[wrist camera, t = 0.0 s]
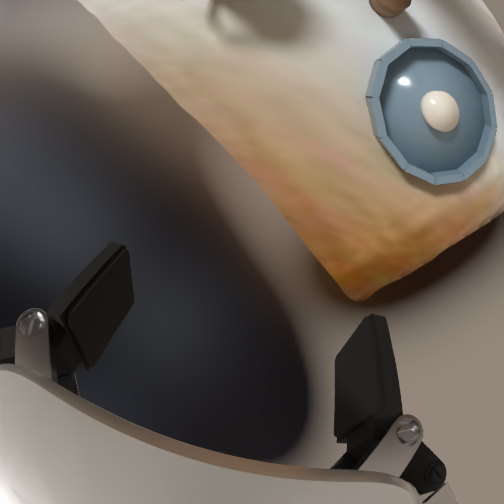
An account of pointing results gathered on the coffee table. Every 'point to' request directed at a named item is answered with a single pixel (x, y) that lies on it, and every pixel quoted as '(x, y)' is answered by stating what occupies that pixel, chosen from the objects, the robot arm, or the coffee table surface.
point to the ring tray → (431, 110)
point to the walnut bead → (389, 7)
